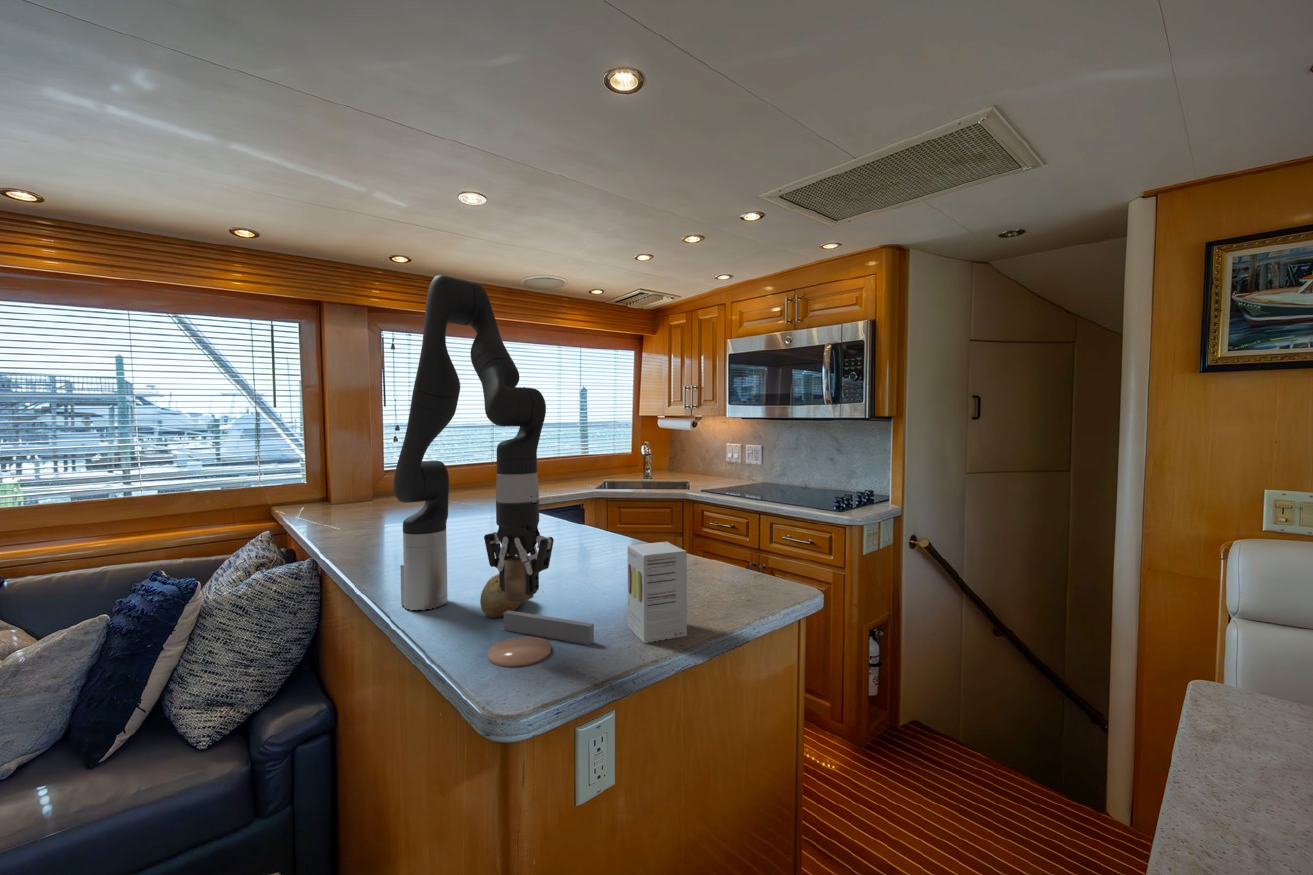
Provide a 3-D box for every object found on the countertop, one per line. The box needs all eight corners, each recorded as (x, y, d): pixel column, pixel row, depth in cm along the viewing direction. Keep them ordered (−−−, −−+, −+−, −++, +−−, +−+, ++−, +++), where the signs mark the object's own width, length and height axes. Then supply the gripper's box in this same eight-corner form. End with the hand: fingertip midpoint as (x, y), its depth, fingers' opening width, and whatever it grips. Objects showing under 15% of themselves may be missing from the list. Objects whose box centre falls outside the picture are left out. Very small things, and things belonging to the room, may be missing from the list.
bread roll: (536, 598, 128) (535, 565, 128) (517, 620, 113) (516, 583, 113) (496, 598, 128) (496, 565, 128) (472, 620, 113) (472, 583, 113)
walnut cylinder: (498, 599, 95) (498, 560, 95) (516, 591, 99) (516, 554, 99) (521, 602, 93) (521, 562, 93) (539, 594, 97) (538, 556, 97)
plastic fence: (503, 629, 107) (503, 612, 107) (508, 627, 109) (508, 610, 109) (589, 645, 99) (589, 626, 99) (593, 642, 101) (593, 623, 101)
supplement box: (626, 627, 108) (625, 544, 108) (668, 620, 112) (667, 540, 112) (644, 644, 99) (643, 554, 99) (688, 636, 103) (687, 549, 103)
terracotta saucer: (474, 660, 93) (474, 655, 93) (514, 637, 103) (514, 633, 103) (526, 671, 89) (526, 666, 89) (562, 646, 99) (562, 641, 99)
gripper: (471, 499, 95) (473, 594, 95) (538, 502, 89) (539, 603, 90) (499, 494, 102) (501, 582, 102) (563, 497, 96) (564, 590, 97)
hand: (519, 591), depth 96 cm, fingers closed on walnut cylinder, 5 cm apart
